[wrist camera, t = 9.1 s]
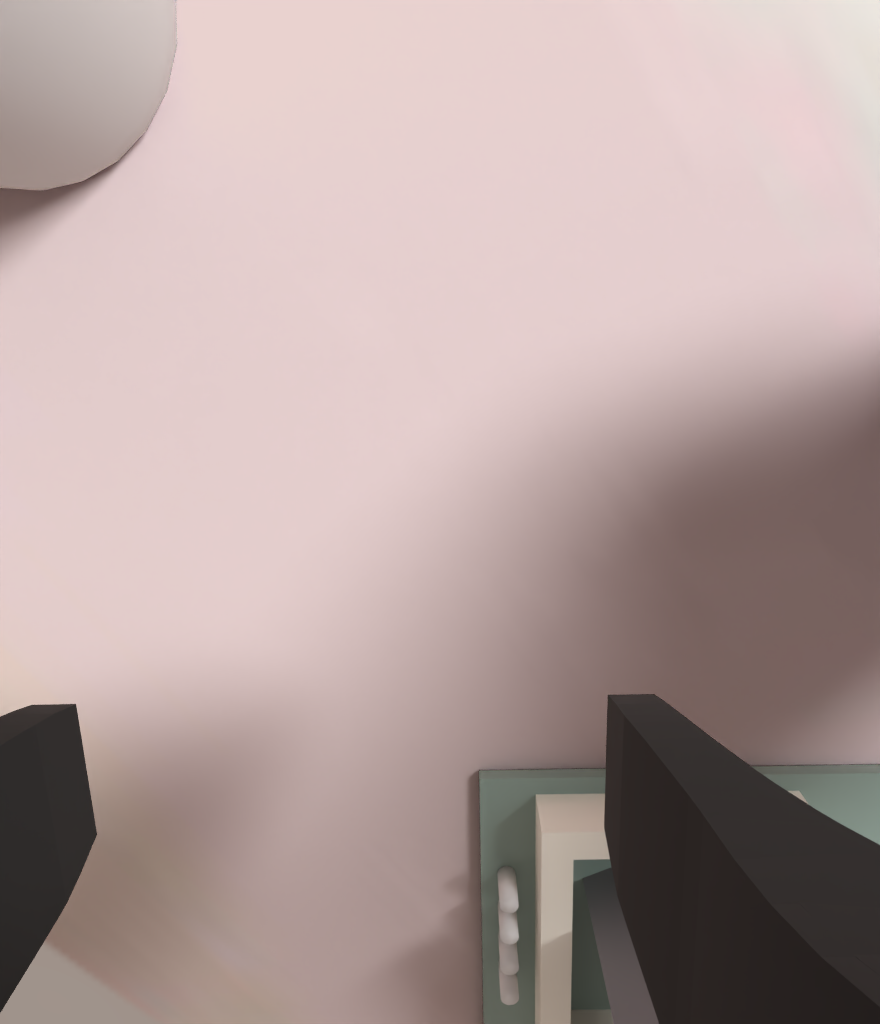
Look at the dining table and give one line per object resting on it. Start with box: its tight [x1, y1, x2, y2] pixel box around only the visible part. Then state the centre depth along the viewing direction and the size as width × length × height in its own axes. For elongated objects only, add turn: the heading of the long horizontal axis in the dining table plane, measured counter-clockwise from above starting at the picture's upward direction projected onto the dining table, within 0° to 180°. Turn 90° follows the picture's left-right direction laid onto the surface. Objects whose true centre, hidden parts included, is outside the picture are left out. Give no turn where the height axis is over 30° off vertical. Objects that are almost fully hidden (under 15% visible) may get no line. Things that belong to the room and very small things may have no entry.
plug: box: [582, 867, 659, 1024], centre depth 19 cm, size 3×4×7 cm
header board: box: [479, 764, 880, 1024], centre depth 22 cm, size 12×9×3 cm
